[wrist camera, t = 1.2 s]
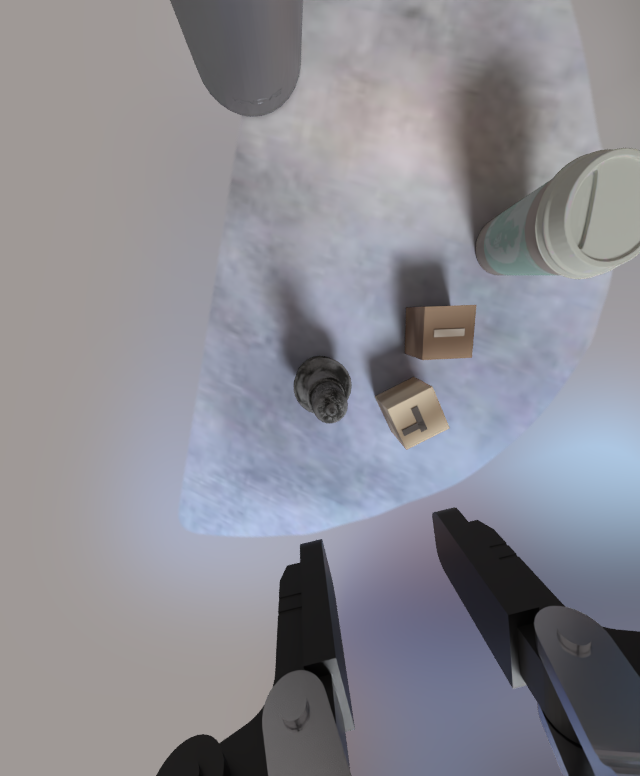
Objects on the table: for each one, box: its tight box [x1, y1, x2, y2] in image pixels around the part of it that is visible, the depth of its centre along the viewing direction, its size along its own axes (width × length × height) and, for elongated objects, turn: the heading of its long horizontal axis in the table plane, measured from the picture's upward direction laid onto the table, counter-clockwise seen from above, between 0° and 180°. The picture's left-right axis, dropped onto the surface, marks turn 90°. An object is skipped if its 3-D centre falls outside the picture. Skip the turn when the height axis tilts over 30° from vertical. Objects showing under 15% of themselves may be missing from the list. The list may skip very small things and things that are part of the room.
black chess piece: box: [294, 356, 351, 423], centre depth 29 cm, size 6×6×12 cm
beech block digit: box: [375, 377, 449, 450], centre depth 34 cm, size 5×5×5 cm
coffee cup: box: [476, 148, 640, 279], centre depth 27 cm, size 8×8×12 cm
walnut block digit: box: [405, 305, 476, 360], centre depth 32 cm, size 5×5×5 cm
